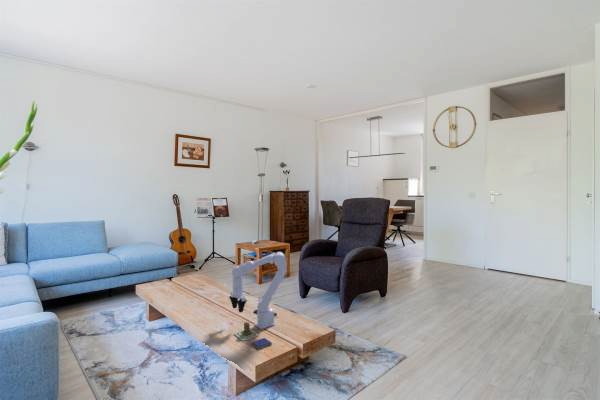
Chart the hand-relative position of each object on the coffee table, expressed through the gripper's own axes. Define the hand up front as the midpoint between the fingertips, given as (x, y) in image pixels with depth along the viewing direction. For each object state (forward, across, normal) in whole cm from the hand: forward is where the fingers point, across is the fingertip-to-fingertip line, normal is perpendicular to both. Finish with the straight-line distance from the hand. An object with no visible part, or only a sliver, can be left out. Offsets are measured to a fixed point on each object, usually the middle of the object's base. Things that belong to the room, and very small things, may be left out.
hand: (237, 309), depth 189 cm
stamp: (+9, +14, -2) cm, 16 cm away
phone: (+10, -5, +22) cm, 25 cm away
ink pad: (+9, +28, -1) cm, 29 cm away
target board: (+9, +14, -2) cm, 17 cm away
